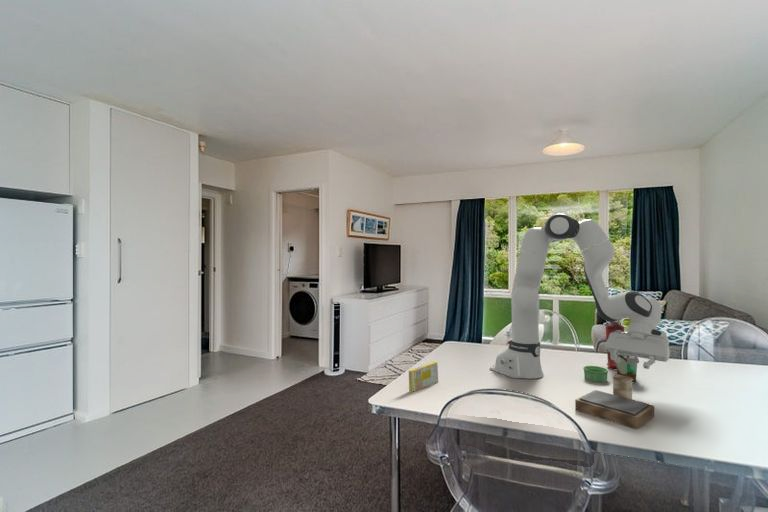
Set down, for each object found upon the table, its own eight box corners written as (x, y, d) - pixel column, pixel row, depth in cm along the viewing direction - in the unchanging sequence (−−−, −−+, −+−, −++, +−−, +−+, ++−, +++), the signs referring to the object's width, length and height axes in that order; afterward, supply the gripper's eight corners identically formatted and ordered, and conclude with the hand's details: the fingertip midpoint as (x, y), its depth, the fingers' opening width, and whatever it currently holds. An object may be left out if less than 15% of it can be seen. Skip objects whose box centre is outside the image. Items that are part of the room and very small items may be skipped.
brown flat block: (575, 410, 125) (575, 398, 125) (594, 400, 134) (594, 388, 134) (637, 429, 111) (637, 415, 111) (654, 416, 119) (654, 404, 119)
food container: (645, 385, 148) (644, 359, 148) (627, 384, 150) (627, 358, 150) (631, 375, 160) (631, 351, 160) (615, 374, 162) (615, 351, 162)
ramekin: (578, 377, 158) (578, 367, 158) (593, 374, 162) (593, 364, 162) (598, 384, 150) (597, 373, 150) (613, 381, 154) (613, 370, 154)
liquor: (620, 366, 173) (619, 305, 173) (628, 371, 166) (627, 307, 166) (603, 365, 174) (602, 305, 175) (610, 370, 167) (609, 307, 167)
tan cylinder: (613, 399, 134) (613, 376, 134) (618, 396, 137) (618, 374, 137) (627, 403, 131) (626, 380, 131) (632, 400, 133) (631, 377, 133)
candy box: (434, 381, 156) (434, 361, 156) (438, 382, 155) (438, 362, 155) (408, 391, 145) (408, 369, 145) (412, 392, 143) (412, 371, 143)
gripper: (608, 325, 151) (598, 354, 145) (670, 333, 135) (661, 365, 129) (613, 335, 154) (603, 363, 148) (674, 344, 138) (666, 376, 132)
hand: (630, 364), depth 138 cm, fingers open, 8 cm apart
